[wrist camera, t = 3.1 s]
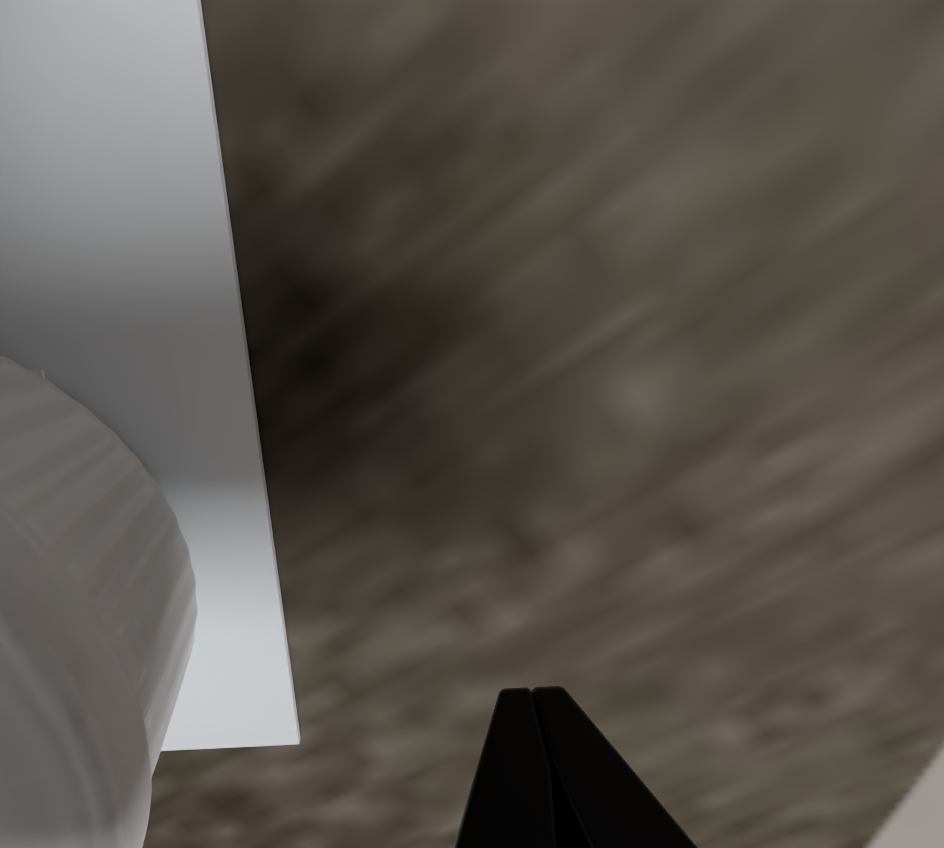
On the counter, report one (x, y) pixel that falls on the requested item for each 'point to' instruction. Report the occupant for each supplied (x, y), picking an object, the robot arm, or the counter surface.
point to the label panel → (147, 313)
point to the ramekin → (83, 623)
